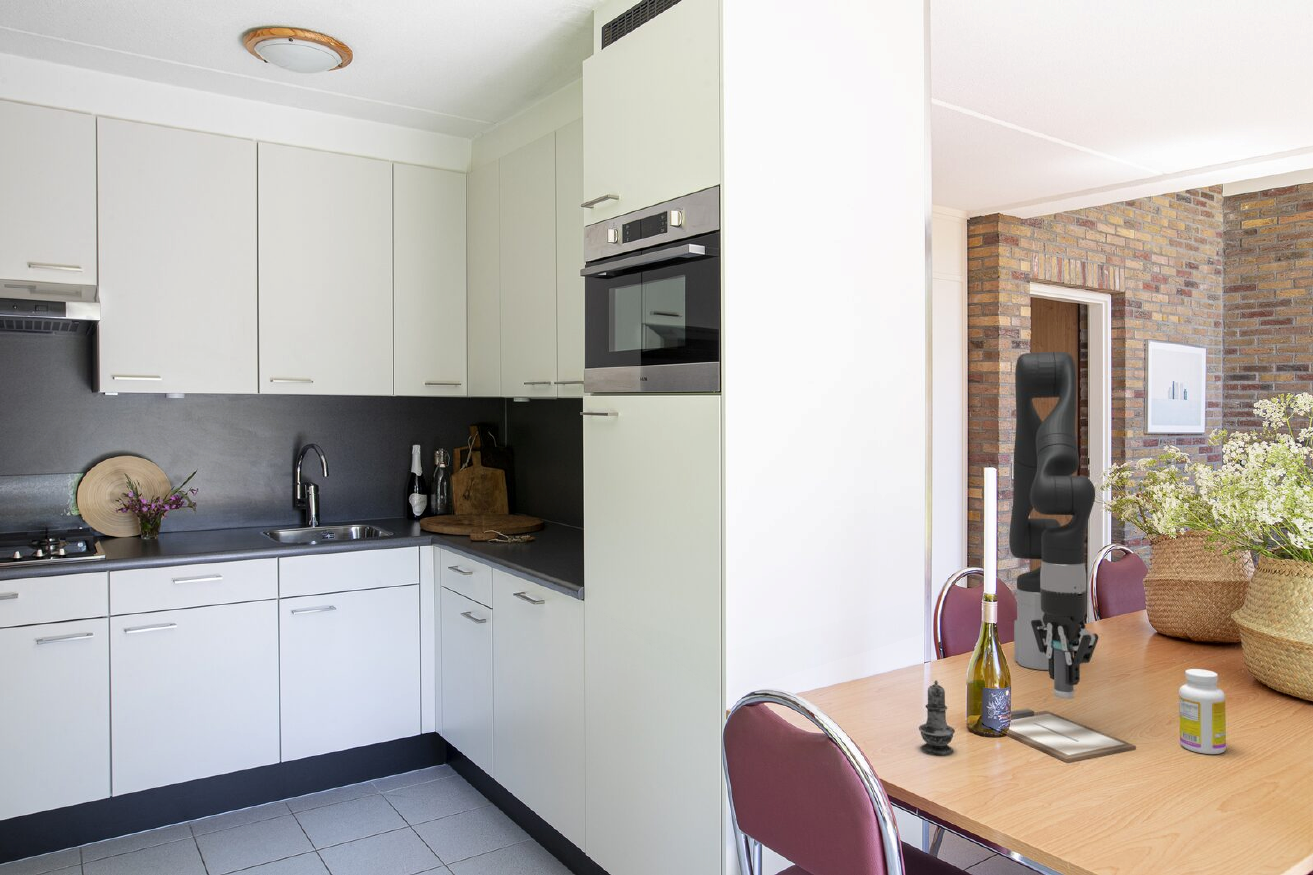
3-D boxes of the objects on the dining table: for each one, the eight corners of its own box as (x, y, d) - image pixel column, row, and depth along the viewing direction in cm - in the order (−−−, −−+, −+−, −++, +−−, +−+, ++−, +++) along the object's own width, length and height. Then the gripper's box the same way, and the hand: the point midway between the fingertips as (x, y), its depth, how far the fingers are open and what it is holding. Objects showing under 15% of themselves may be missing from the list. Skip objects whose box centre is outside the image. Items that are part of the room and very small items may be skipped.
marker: (1049, 694, 161) (1048, 639, 161) (1063, 691, 162) (1063, 637, 162) (1064, 700, 158) (1063, 644, 158) (1078, 697, 159) (1078, 642, 159)
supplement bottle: (1222, 744, 152) (1222, 669, 151) (1229, 758, 146) (1228, 680, 145) (1177, 739, 154) (1176, 665, 154) (1181, 752, 148) (1181, 675, 148)
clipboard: (981, 724, 164) (981, 715, 164) (1045, 713, 169) (1045, 705, 169) (1066, 762, 145) (1066, 753, 145) (1135, 749, 150) (1135, 739, 150)
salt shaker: (955, 745, 153) (954, 676, 153) (954, 758, 148) (954, 686, 148) (919, 742, 155) (919, 674, 155) (918, 754, 150) (917, 683, 150)
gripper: (1017, 581, 165) (1018, 674, 165) (1078, 595, 152) (1079, 696, 152) (1049, 578, 168) (1050, 669, 168) (1111, 591, 154) (1112, 690, 155)
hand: (1064, 681), depth 160 cm, fingers closed on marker, 3 cm apart
